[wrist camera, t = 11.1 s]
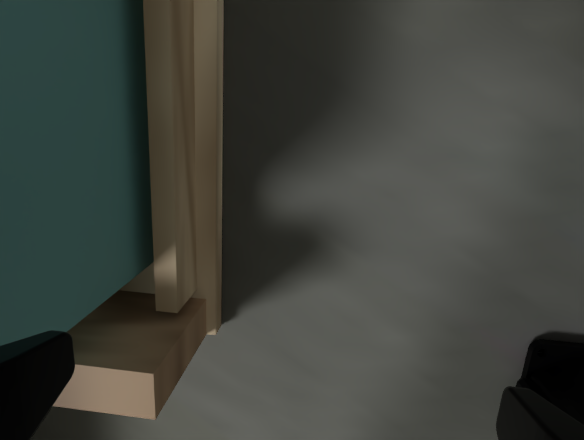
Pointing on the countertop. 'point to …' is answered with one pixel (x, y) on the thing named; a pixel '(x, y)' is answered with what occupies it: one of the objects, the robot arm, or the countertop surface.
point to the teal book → (71, 160)
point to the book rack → (165, 226)
